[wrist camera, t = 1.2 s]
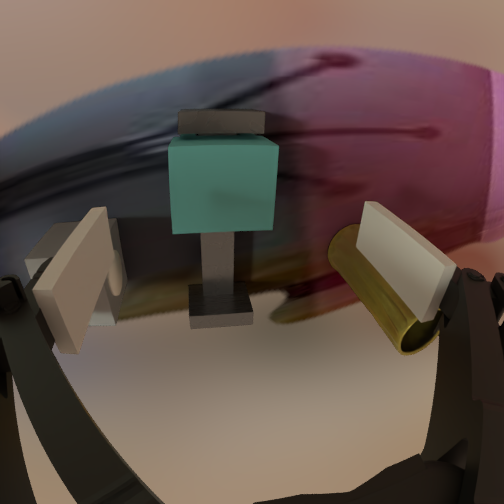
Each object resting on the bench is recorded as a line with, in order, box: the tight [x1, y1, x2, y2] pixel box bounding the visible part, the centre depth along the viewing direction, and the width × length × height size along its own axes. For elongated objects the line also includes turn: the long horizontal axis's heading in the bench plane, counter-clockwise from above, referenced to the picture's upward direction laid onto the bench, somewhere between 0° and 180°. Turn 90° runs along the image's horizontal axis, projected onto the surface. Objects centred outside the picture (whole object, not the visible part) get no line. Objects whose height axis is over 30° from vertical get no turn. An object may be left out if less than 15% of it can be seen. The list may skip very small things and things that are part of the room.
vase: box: [328, 224, 443, 355], centre depth 26 cm, size 6×6×14 cm
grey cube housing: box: [24, 218, 128, 326], centre depth 24 cm, size 7×7×7 cm
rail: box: [178, 109, 265, 329], centre depth 25 cm, size 19×6×5 cm, turn 177°
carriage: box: [168, 133, 279, 234], centre depth 22 cm, size 6×7×7 cm
